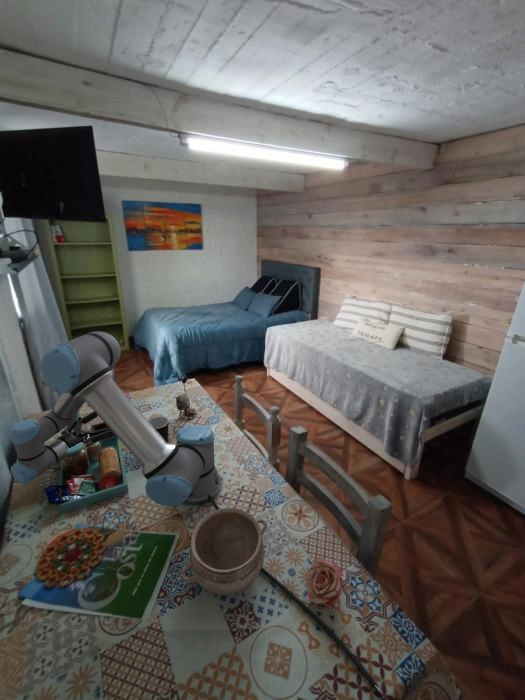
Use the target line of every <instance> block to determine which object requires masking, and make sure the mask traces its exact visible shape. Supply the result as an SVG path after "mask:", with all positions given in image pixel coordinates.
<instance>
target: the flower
mask: <svg viewBox="0 0 525 700" xmlns="http://www.w3.org/2000/svg"><path fill="white" fill-rule="evenodd" d="M343 577H344V573H343V572H342V569H341V568H339V566H338V565H337V564H336V563H335V562H334V561H330V560H327V559H324V558H322V557H316V558H315V559H314V562H313V564H312V565H311V566H310V568H309V570H308V574H307V583H306V584H307V585H306V587H307V596H308V597H309V599H310V601H311V602H312V603H313V604H315V605H323V606H326V608H327V609H330V608H331V609H332V608H333V607H332V606H333V605H335V604H337V603H338V602H339V601H341V597H340V595H341V594H342V595H344V594H343V592H342V584H343V581H344V579H343ZM340 593H341V594H340Z"/></svg>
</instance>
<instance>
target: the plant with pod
mask: <svg viewBox="0 0 525 700" xmlns="http://www.w3.org/2000/svg"><path fill="white" fill-rule="evenodd" d="M187 382H188V377H187V375H186V374H184V375H183V376H182V377H181V383H182V384H183V388H184V392H183V393H182V394H181V393H180V394H179V395H177V396H175V406H176V409H177V410H178V411H179V418H178V419H179V420H180V419H182V420H186V421H189V420H192V419H193V418H194V417H195V416H196V415H197V413H198V410H197V409H196V408H193V407H191V401H190V398H189V396H188V394H187V391H186V385H185V384H186V383H187Z"/></svg>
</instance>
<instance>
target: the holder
mask: <svg viewBox="0 0 525 700" xmlns="http://www.w3.org/2000/svg"><path fill="white" fill-rule="evenodd" d="M104 428H108V426H107V425H106V424H105V423H104V421H102V422H99V423H94V424H91V425H90V431H91V432H92V431H96V430H100V429H104ZM107 431H108V430H107ZM115 436H116V435H115V434H114V436H113V437H115Z"/></svg>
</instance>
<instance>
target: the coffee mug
mask: <svg viewBox="0 0 525 700" xmlns="http://www.w3.org/2000/svg"><path fill="white" fill-rule="evenodd" d="M148 421H149V422H150V424H151V425H152V426H153V427H154V428H155V429H156V431H157V432H158V433H159V434H160V435H161V436H162V437H163V439H164V440H165V441H166V442H167V443H169V429H170V420H169V418H168V417H167V416H160V415H159V416H158V415H157V416H154V417H152V418H150V419H148Z"/></svg>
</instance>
